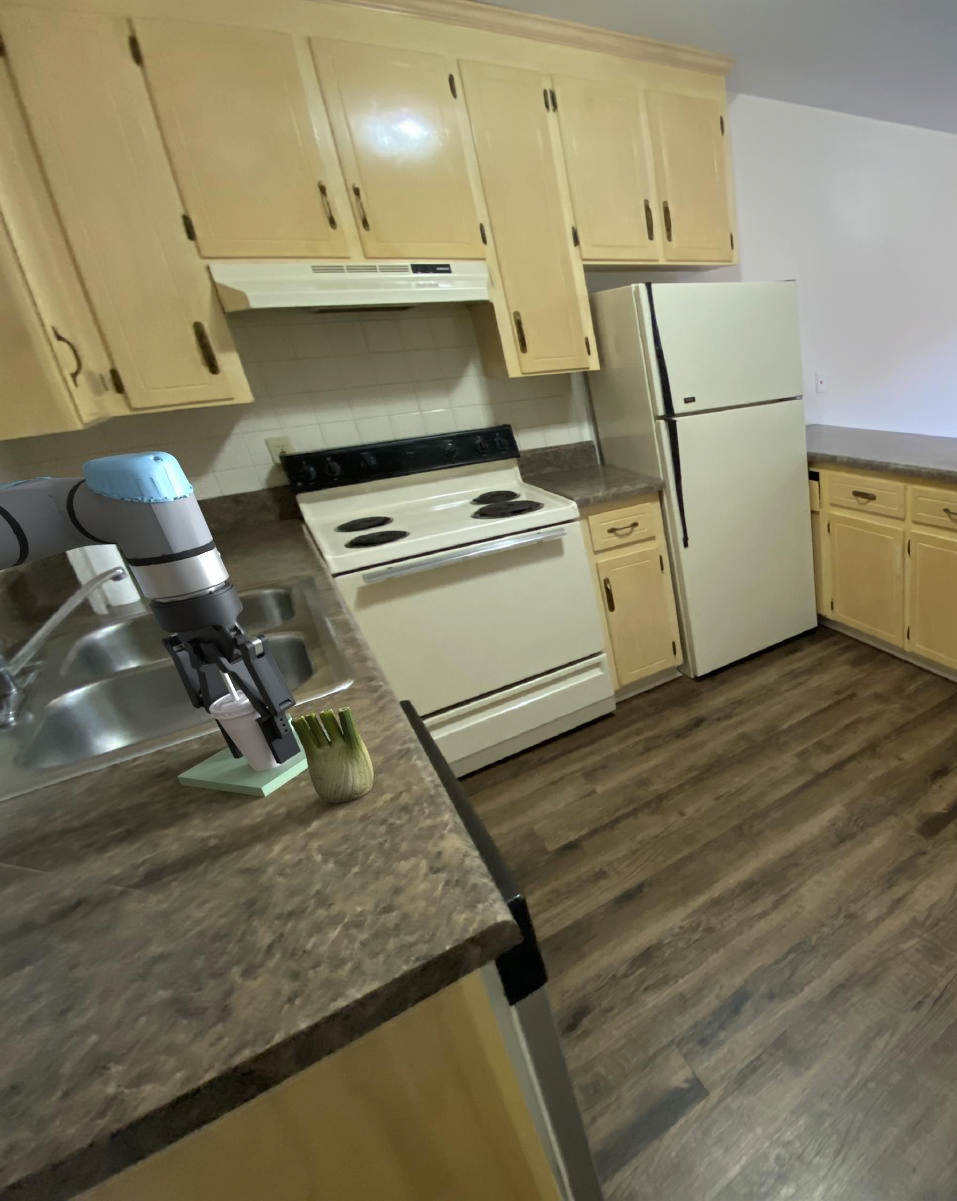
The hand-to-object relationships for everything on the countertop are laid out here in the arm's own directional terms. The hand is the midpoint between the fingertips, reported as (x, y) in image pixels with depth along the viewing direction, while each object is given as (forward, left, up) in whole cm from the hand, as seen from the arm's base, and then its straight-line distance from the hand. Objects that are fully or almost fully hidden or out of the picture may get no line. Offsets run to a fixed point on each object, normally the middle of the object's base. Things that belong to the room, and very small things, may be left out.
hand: (267, 754), depth 84 cm
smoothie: (0, 0, -1) cm, 1 cm away
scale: (-3, +1, -3) cm, 4 cm away
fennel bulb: (+15, -3, -3) cm, 15 cm away
